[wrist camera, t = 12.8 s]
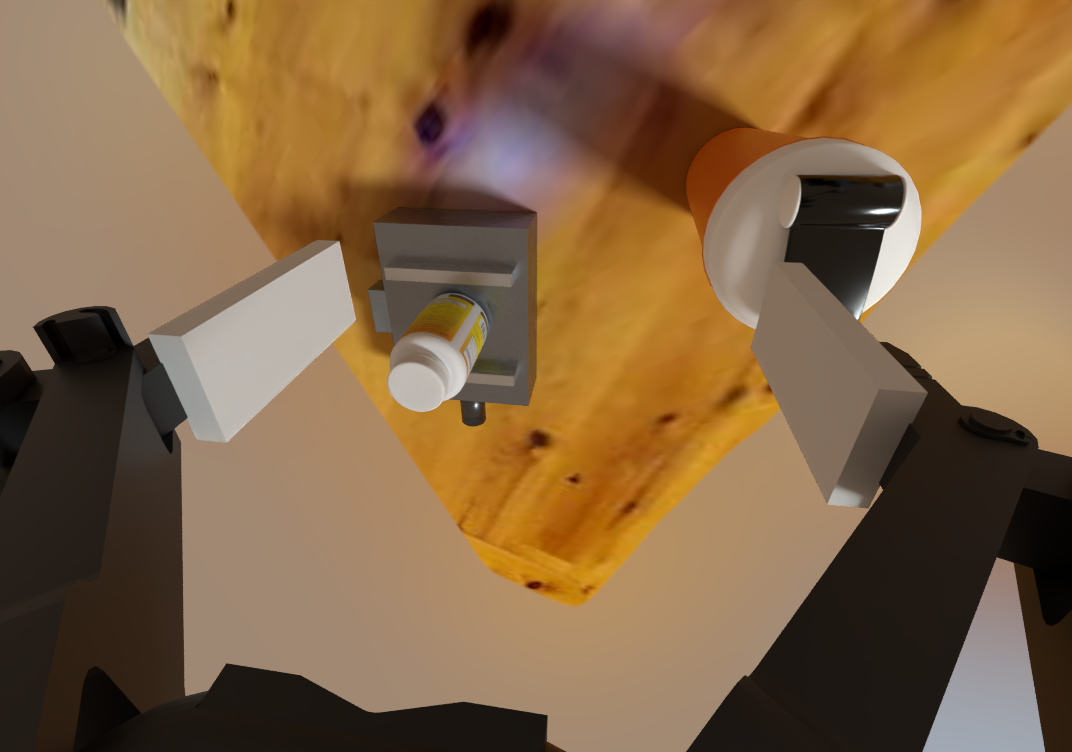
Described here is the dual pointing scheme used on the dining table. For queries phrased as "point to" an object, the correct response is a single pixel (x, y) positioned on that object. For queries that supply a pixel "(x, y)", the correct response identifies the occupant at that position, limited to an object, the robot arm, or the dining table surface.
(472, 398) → the motor block
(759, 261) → the shaker bottle
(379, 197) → the dining table surface
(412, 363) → the supplement bottle
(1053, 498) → the robot arm
